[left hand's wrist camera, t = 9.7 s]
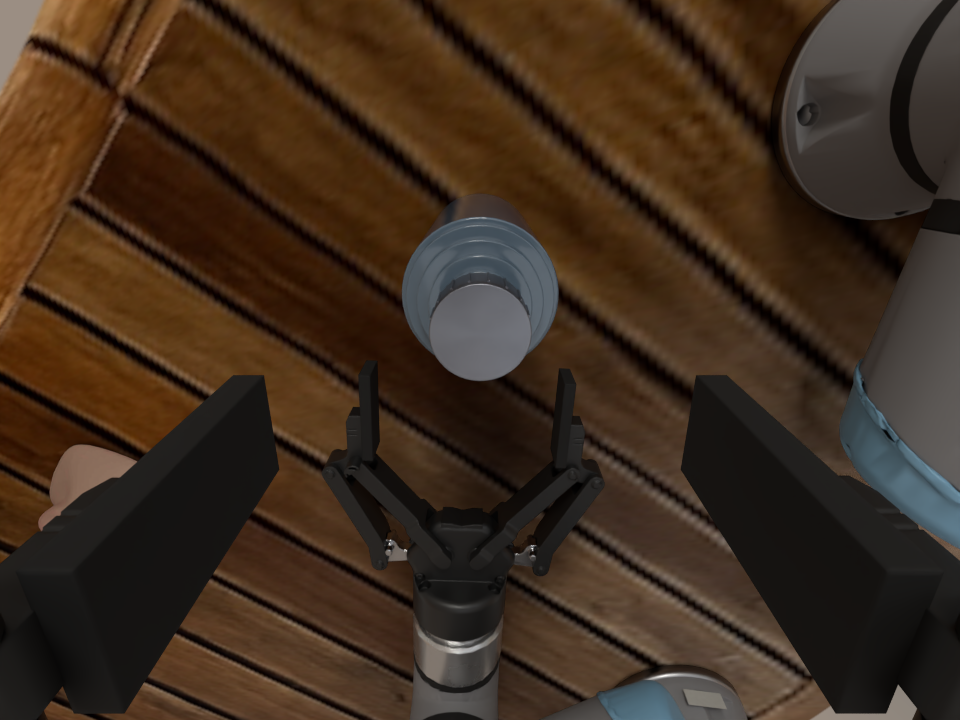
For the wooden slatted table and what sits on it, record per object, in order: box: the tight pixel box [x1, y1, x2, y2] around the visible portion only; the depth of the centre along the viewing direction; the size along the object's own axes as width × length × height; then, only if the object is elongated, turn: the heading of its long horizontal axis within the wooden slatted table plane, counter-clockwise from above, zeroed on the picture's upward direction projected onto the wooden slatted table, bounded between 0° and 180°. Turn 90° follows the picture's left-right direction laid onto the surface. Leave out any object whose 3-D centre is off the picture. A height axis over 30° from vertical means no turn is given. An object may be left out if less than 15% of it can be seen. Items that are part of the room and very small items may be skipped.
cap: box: [429, 272, 532, 381], centre depth 21 cm, size 4×4×2 cm
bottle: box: [402, 194, 559, 355], centre depth 30 cm, size 8×8×20 cm
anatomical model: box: [38, 445, 137, 531], centre depth 46 cm, size 13×4×12 cm
